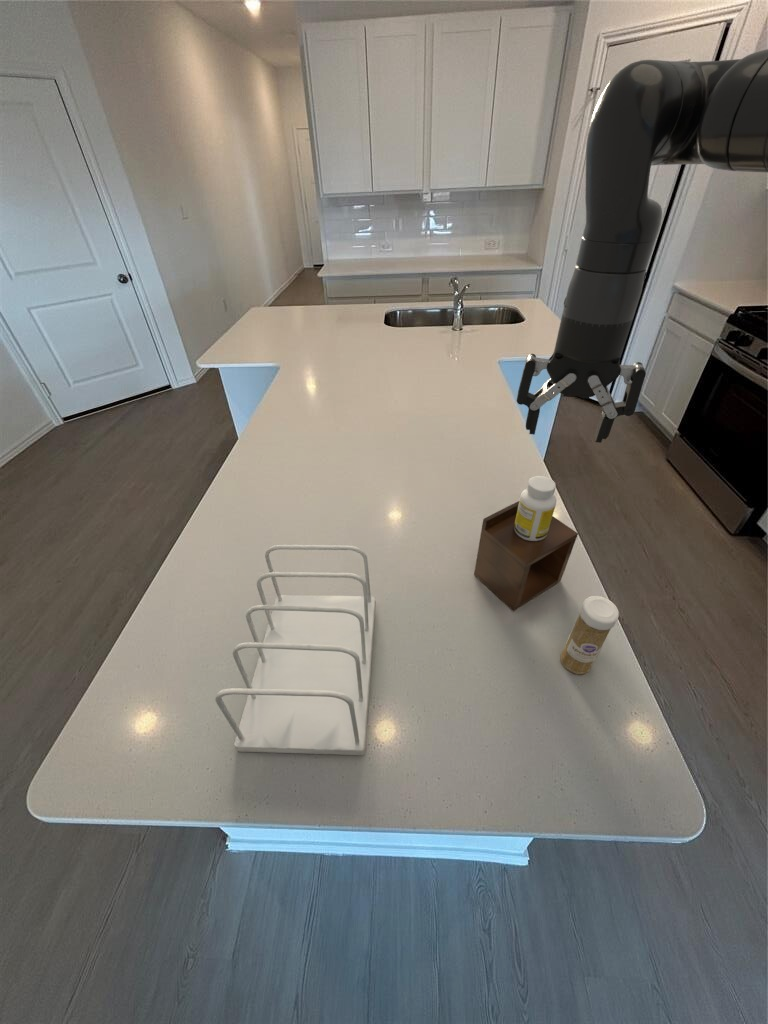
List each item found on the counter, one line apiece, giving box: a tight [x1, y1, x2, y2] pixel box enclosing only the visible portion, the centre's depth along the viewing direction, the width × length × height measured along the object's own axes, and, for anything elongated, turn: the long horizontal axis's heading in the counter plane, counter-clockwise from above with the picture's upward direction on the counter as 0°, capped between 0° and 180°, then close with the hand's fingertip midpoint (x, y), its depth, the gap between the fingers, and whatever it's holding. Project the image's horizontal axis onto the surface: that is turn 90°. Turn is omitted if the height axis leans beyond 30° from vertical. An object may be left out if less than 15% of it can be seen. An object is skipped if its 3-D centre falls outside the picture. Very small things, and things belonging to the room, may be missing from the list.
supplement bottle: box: [514, 475, 557, 541], centre depth 70 cm, size 5×5×10 cm
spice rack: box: [473, 499, 579, 612], centre depth 76 cm, size 10×12×14 cm
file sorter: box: [214, 544, 377, 756], centre depth 63 cm, size 25×17×16 cm
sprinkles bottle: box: [559, 595, 620, 675], centre depth 63 cm, size 5×5×14 cm
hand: (564, 435), depth 60 cm, fingers open, 8 cm apart
